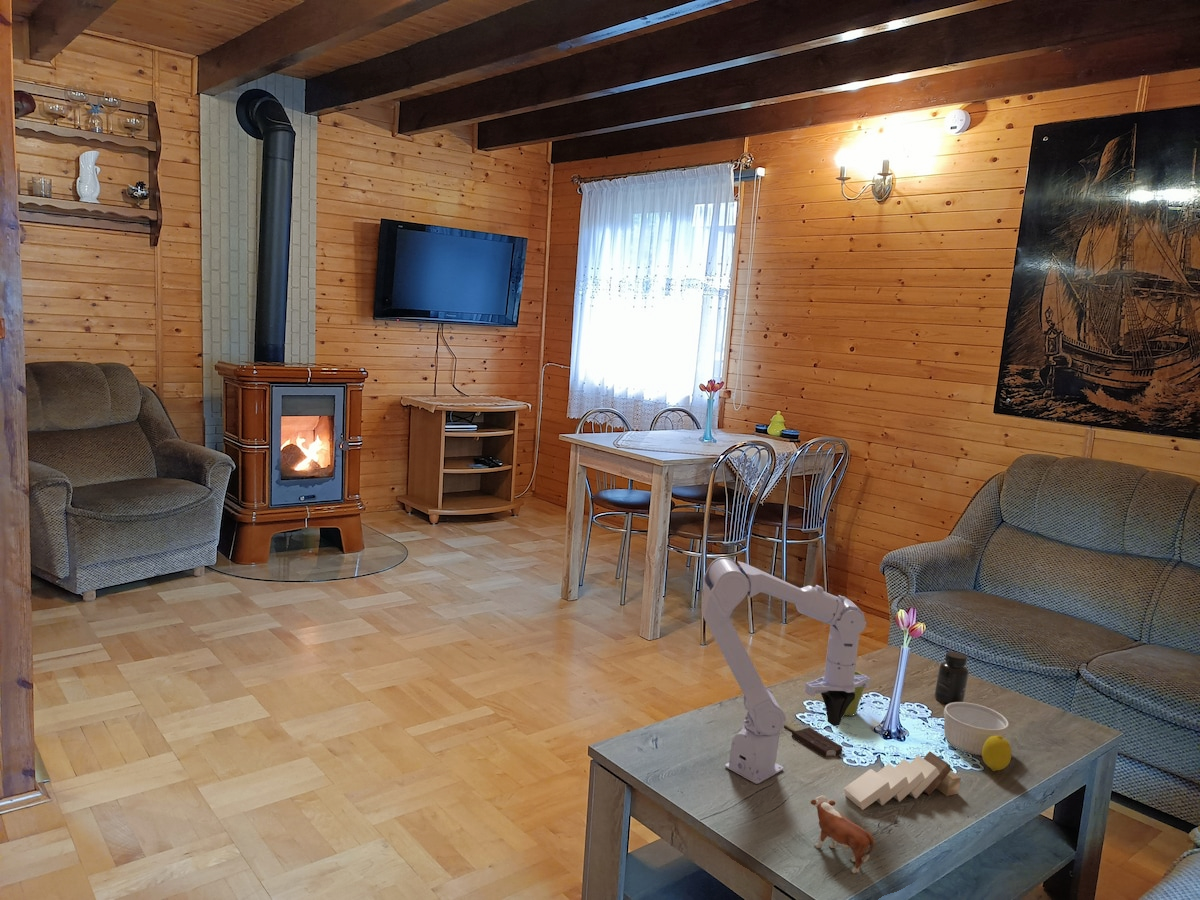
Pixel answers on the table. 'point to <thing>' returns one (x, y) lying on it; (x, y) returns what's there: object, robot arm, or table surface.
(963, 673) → the supplement bottle
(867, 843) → the bull figurine
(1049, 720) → the table surface
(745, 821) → the table surface
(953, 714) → the ramekin
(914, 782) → the domino
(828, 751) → the ice cream bar
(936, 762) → the domino
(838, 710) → the robot arm
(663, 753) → the table surface
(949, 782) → the end block
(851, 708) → the plant pot
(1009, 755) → the lemon
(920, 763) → the domino
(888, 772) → the domino
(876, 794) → the domino
